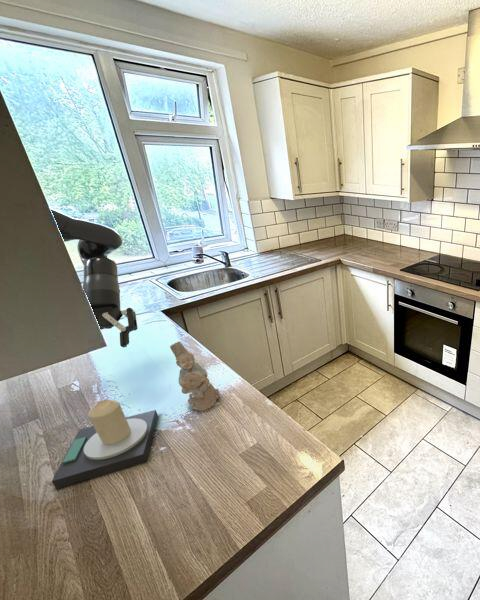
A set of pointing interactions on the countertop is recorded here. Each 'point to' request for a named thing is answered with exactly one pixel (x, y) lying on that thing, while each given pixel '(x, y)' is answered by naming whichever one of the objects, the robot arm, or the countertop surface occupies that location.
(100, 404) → the candle
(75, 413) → the countertop surface
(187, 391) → the figurine
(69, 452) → the kitchen scale
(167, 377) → the countertop surface
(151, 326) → the countertop surface
